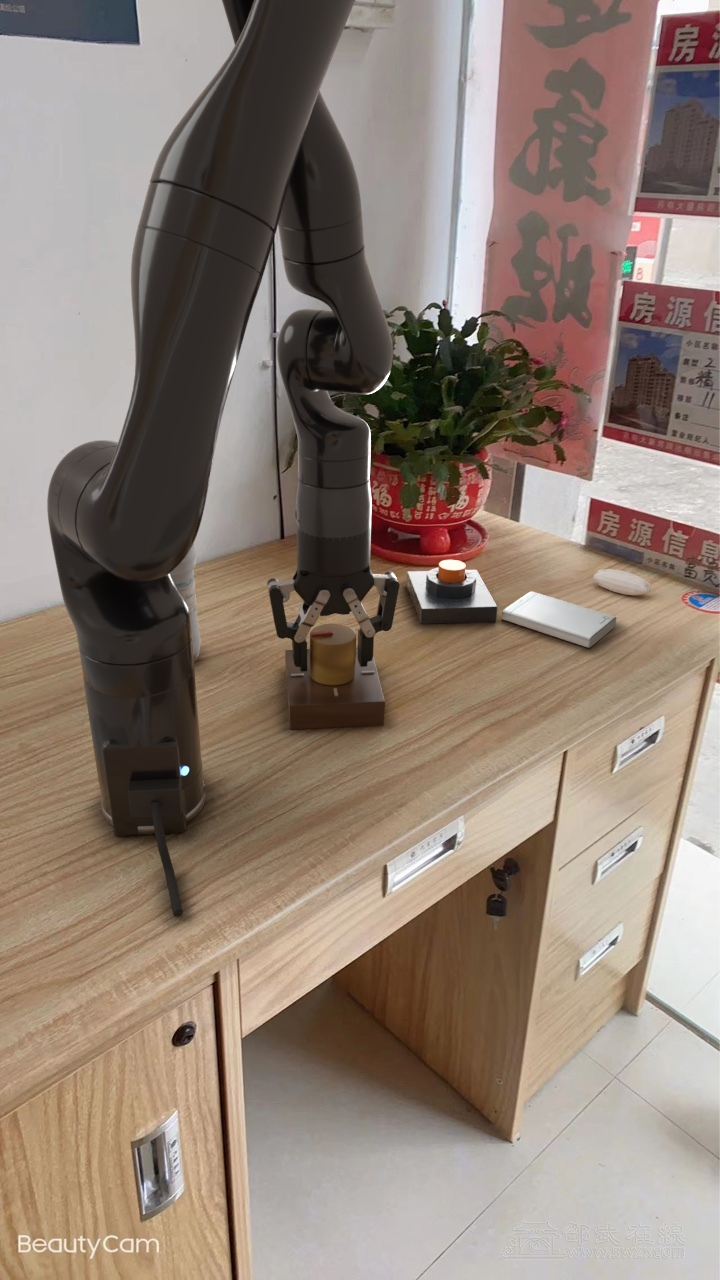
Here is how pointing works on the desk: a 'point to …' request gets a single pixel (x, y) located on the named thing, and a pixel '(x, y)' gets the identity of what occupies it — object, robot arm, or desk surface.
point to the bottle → (189, 594)
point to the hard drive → (559, 618)
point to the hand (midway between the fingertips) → (333, 665)
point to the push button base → (450, 598)
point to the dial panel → (333, 698)
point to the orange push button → (451, 571)
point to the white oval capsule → (622, 582)
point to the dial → (332, 654)
